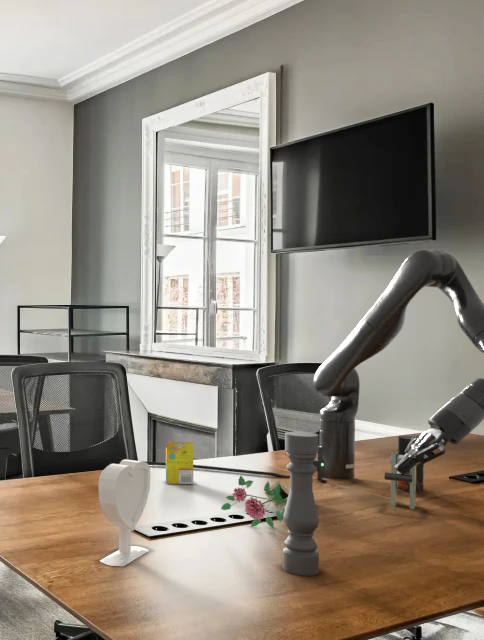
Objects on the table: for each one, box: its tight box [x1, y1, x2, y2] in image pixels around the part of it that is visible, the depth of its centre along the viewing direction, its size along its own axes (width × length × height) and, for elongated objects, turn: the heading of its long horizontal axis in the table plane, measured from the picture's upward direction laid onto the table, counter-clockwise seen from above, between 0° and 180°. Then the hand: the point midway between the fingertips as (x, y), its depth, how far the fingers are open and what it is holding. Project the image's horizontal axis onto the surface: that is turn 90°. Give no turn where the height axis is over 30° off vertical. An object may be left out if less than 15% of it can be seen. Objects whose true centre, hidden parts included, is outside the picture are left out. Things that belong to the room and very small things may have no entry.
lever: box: [383, 455, 413, 483], centre depth 173 cm, size 15×6×2 cm, turn 147°
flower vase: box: [220, 474, 290, 530], centre depth 167 cm, size 12×12×35 cm
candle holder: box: [282, 431, 320, 577], centre depth 136 cm, size 6×6×25 cm
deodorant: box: [397, 435, 425, 493], centre depth 195 cm, size 6×6×15 cm
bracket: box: [388, 451, 418, 510], centre depth 178 cm, size 10×9×14 cm
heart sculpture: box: [97, 458, 152, 567], centre depth 143 cm, size 16×5×18 cm, turn 144°
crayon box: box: [165, 441, 195, 485], centre depth 206 cm, size 7×3×12 cm, turn 84°
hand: (398, 471), depth 167 cm, fingers closed
